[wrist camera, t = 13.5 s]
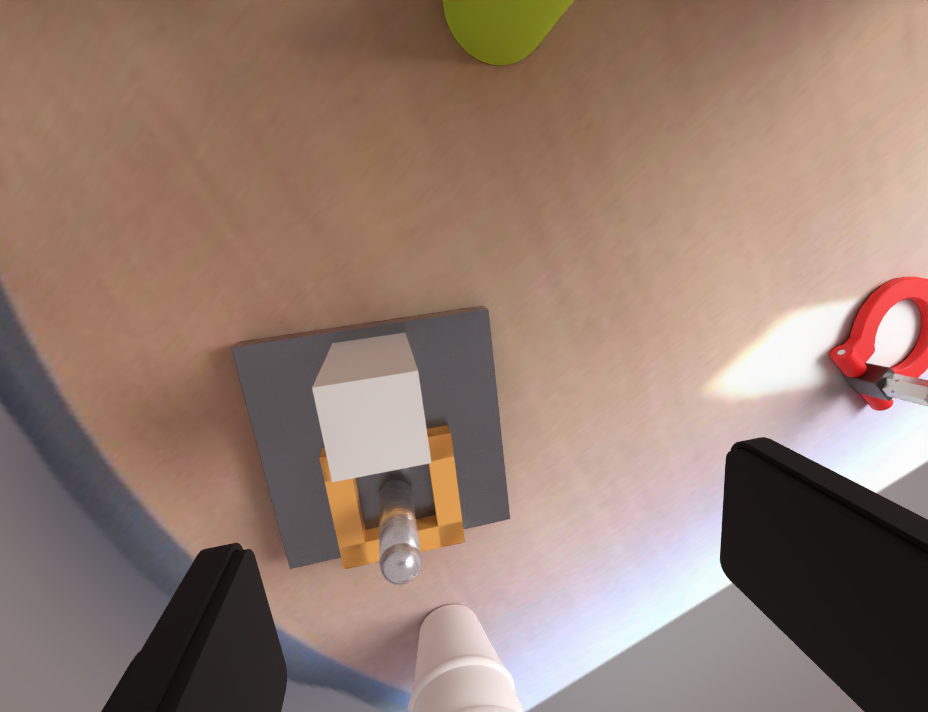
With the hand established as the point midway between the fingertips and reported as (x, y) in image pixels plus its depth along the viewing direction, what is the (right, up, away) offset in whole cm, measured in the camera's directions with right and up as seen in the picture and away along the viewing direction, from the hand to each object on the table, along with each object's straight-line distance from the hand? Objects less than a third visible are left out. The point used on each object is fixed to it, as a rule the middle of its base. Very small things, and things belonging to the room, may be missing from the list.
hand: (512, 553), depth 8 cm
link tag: (-5, -2, +18) cm, 19 cm away
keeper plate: (-6, -1, +19) cm, 20 cm away
